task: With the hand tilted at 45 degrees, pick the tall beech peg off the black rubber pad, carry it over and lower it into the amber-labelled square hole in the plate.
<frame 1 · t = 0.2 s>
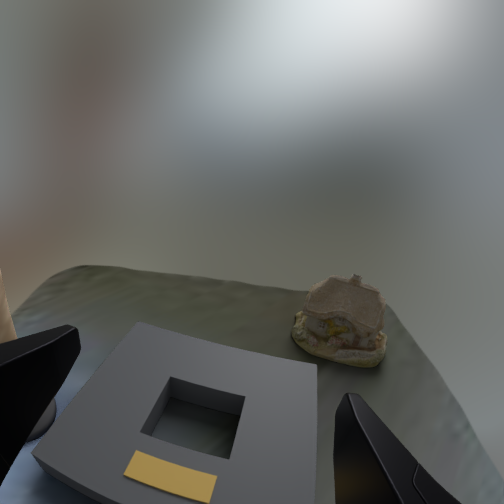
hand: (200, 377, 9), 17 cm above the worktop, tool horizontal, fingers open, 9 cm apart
ceramic model: (335, 340, 40), on the worktop
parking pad: (20, 408, 19), on the worktop
hole plate: (194, 433, 23), on the worktop
beech peg: (16, 401, 19), point 1 cm above the worktop, touching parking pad
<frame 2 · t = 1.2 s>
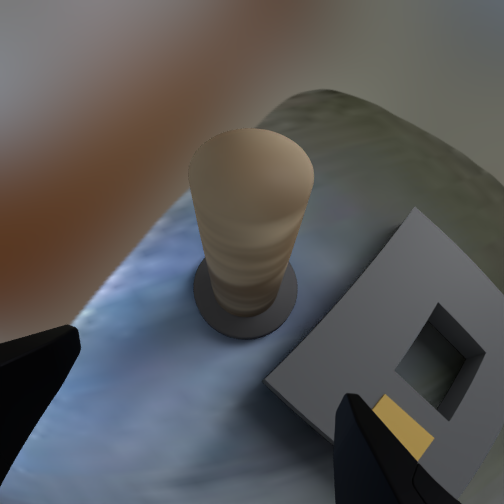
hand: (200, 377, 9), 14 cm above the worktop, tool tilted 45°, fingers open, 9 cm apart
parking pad: (245, 289, 24), on the worktop
hole plate: (426, 367, 22), on the worktop
beech peg: (245, 285, 23), point 1 cm above the worktop, touching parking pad
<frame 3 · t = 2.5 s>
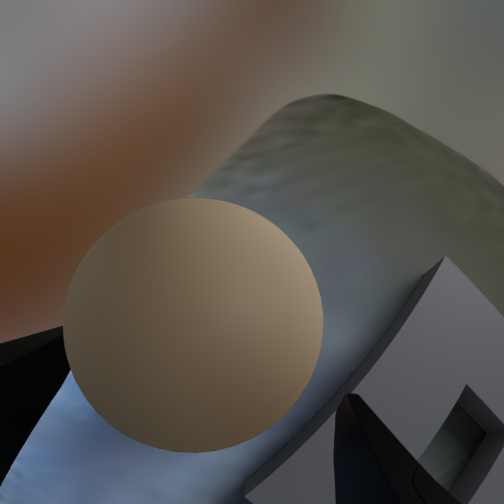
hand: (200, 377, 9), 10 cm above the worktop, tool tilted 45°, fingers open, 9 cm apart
hole plate: (442, 450, 15), on the worktop
beech peg: (222, 372, 17), point 1 cm above the worktop, touching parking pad
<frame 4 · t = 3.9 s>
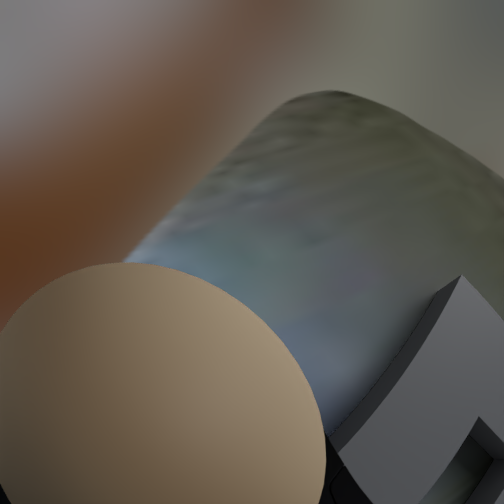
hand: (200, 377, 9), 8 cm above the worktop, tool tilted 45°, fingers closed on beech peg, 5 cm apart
hole plate: (447, 480, 13), on the worktop
beech peg: (211, 408, 14), point 1 cm above the worktop, touching gripper, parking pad
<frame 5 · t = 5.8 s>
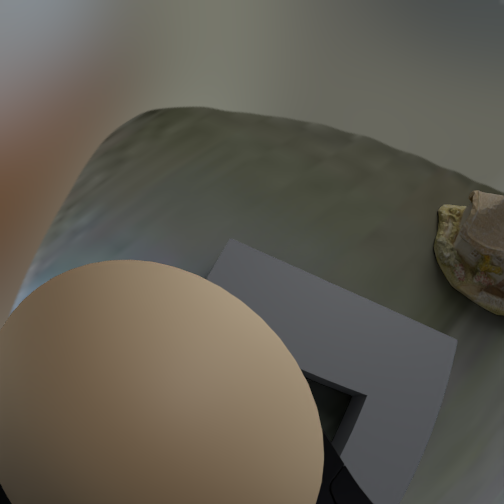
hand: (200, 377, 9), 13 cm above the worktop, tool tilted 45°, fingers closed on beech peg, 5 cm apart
ceramic model: (476, 261, 27), on the worktop
hole plate: (292, 421, 20), on the worktop
beech peg: (211, 408, 14), point 6 cm above the worktop, touching gripper
when the fingers open (8 cm above the worktop, at t = 7.8 s): beech peg drops 1 cm, resting in hole plate.
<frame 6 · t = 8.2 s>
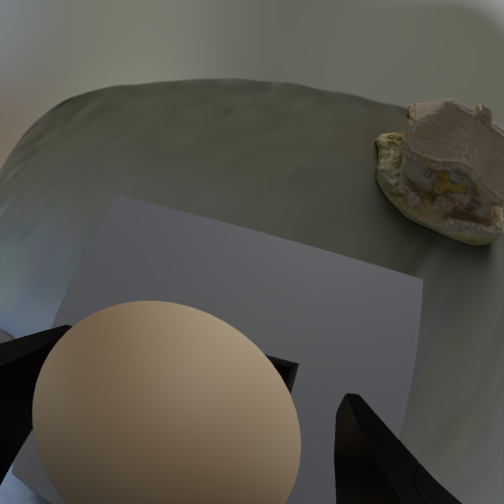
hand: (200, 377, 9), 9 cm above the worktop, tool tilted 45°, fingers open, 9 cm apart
ceramic model: (435, 189, 24), on the worktop
hole plate: (214, 407, 16), on the worktop
beech peg: (214, 408, 16), resting in hole plate
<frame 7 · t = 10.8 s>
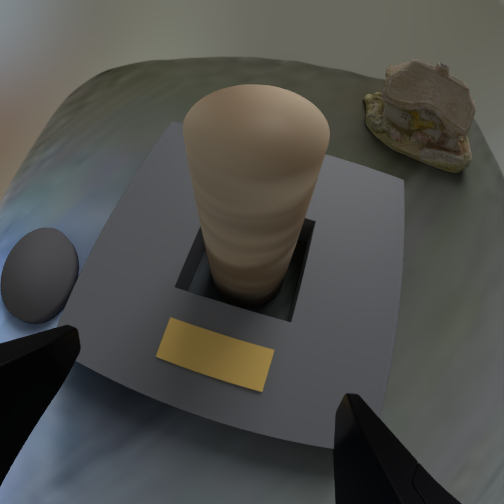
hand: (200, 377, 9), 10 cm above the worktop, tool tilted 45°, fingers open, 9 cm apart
ceramic model: (413, 133, 30), on the worktop
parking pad: (39, 276, 20), on the worktop
hole plate: (248, 271, 21), on the worktop
beech peg: (248, 272, 21), resting in hole plate
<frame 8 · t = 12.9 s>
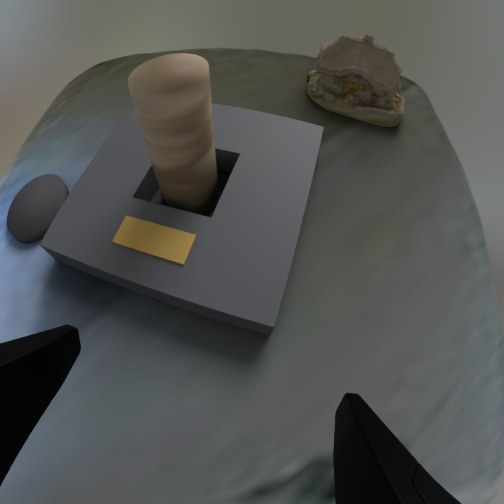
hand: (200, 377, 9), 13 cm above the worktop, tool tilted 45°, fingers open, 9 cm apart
ceramic model: (352, 99, 36), on the worktop
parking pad: (38, 209, 26), on the worktop
hole plate: (191, 195, 27), on the worktop
beech peg: (191, 195, 27), resting in hole plate
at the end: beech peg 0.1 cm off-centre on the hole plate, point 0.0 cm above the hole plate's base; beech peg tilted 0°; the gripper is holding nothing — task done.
